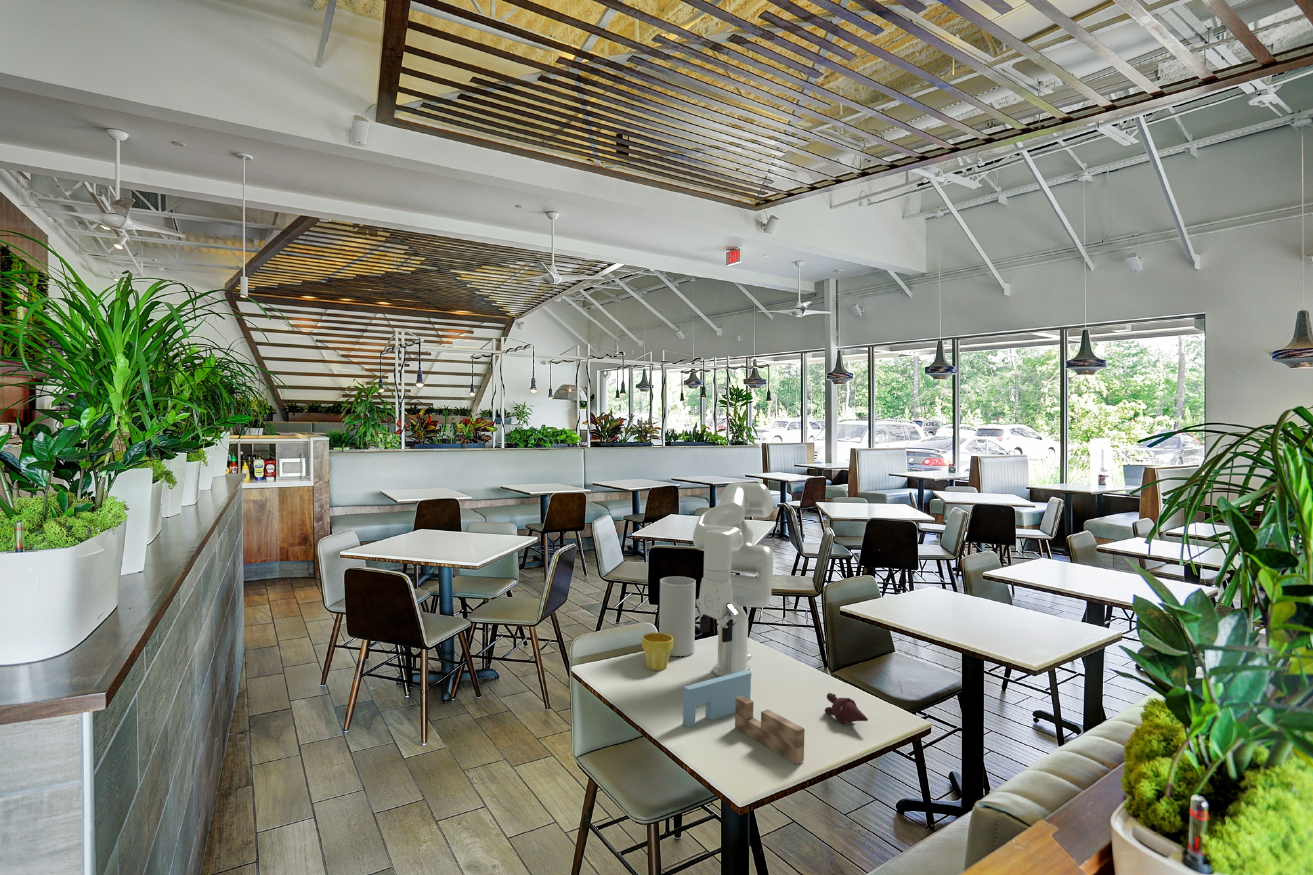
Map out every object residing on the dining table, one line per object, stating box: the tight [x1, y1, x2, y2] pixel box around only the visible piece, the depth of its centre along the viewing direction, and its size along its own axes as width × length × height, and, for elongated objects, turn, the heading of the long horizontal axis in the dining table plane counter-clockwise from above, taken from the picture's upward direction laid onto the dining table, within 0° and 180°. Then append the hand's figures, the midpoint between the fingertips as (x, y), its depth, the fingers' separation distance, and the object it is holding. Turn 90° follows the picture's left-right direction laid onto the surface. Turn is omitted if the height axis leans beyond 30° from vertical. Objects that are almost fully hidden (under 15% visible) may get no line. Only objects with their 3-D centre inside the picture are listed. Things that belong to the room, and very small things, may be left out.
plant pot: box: [641, 632, 673, 671], centre depth 214 cm, size 10×10×10 cm
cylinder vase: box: [658, 576, 697, 658], centre depth 228 cm, size 12×12×25 cm
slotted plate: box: [682, 670, 752, 728], centre depth 179 cm, size 22×2×10 cm, turn 124°
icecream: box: [824, 692, 869, 725], centre depth 176 cm, size 7×7×15 cm
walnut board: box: [734, 696, 805, 765], centre depth 163 cm, size 22×2×8 cm, turn 34°
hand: (715, 636), depth 179 cm, fingers open, 9 cm apart
